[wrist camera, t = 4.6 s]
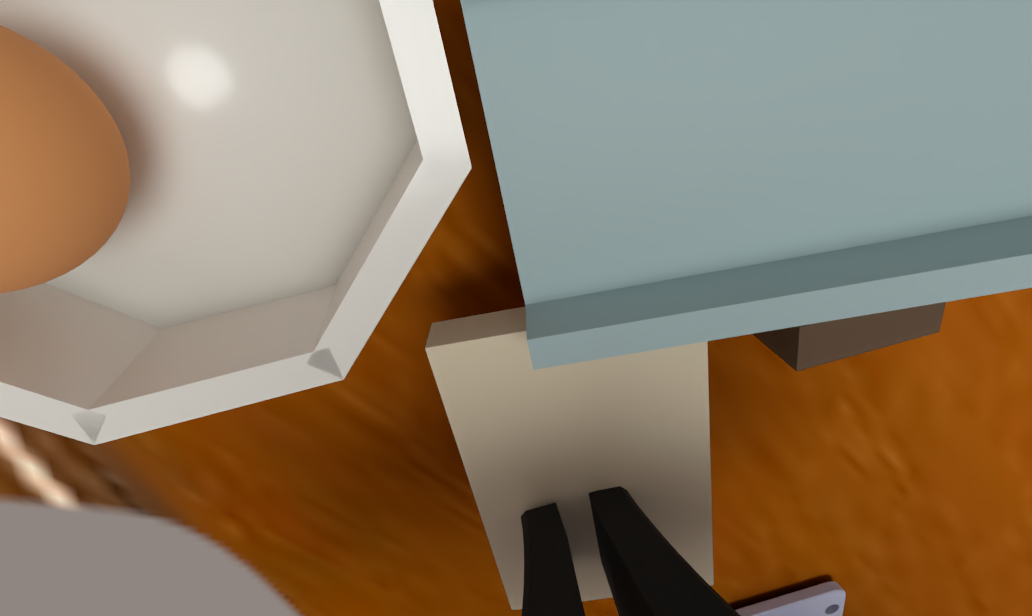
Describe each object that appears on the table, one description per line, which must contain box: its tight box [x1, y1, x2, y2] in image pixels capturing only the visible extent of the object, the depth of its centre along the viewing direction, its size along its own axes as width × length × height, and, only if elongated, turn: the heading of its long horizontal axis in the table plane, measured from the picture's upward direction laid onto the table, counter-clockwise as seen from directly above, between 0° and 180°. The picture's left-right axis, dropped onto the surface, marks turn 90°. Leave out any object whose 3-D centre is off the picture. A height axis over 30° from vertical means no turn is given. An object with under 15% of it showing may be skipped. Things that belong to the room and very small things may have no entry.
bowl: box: [0, 0, 472, 445], centre depth 7 cm, size 9×9×3 cm
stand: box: [753, 302, 946, 371], centre depth 8 cm, size 8×6×4 cm
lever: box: [425, 0, 1032, 610], centre depth 7 cm, size 12×15×3 cm
